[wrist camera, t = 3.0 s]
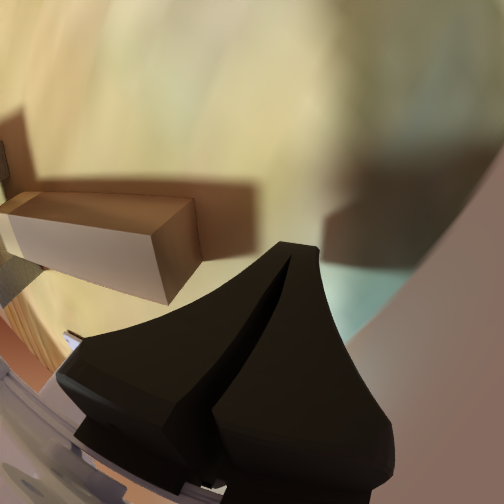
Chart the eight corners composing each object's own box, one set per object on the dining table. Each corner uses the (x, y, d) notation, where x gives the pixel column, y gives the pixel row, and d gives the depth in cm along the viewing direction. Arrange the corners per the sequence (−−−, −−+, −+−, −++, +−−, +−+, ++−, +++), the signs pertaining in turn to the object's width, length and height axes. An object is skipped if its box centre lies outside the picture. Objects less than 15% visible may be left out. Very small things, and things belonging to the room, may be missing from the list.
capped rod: (202, 261, 13) (168, 305, 11) (35, 229, 17) (6, 251, 14) (193, 198, 11) (150, 235, 9) (23, 191, 15) (-10, 211, 13)
